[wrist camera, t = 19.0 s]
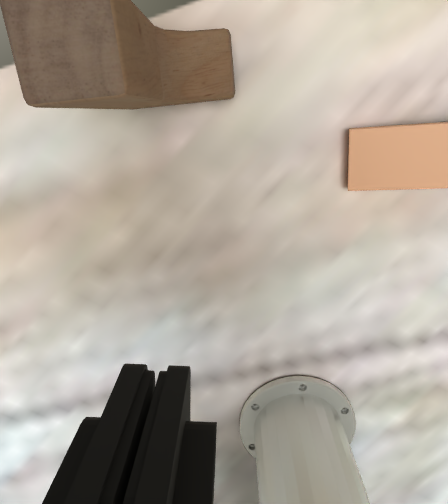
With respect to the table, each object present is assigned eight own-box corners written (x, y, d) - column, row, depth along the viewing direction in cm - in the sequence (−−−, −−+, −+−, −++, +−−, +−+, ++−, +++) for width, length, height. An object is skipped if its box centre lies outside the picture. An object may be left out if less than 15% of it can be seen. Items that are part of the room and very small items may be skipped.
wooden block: (230, 38, 31) (227, -48, 14) (235, 98, 33) (237, 84, 16) (119, 50, 32) (-10, -18, 15) (129, 109, 33) (21, 108, 16)
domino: (347, 187, 35) (474, 183, 32) (348, 190, 34) (481, 187, 31) (349, 128, 33) (483, 119, 31) (349, 129, 32) (490, 120, 29)
